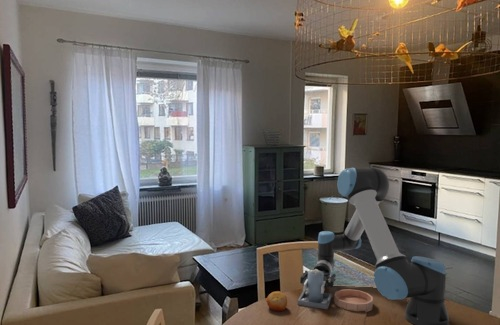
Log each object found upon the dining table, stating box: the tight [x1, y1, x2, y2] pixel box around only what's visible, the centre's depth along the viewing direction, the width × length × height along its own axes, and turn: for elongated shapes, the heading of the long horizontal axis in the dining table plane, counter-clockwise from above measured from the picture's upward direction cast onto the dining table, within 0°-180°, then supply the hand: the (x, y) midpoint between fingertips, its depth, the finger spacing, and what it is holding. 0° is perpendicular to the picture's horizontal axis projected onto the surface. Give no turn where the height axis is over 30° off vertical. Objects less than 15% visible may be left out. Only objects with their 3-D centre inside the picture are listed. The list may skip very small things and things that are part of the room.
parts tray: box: [297, 289, 333, 310], centre depth 158 cm, size 12×12×3 cm
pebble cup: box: [306, 269, 324, 303], centre depth 158 cm, size 6×6×13 cm
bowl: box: [333, 288, 374, 313], centre depth 157 cm, size 15×15×4 cm
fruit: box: [266, 290, 288, 312], centre depth 151 cm, size 8×8×8 cm
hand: (313, 288), depth 153 cm, fingers closed on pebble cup, 6 cm apart
